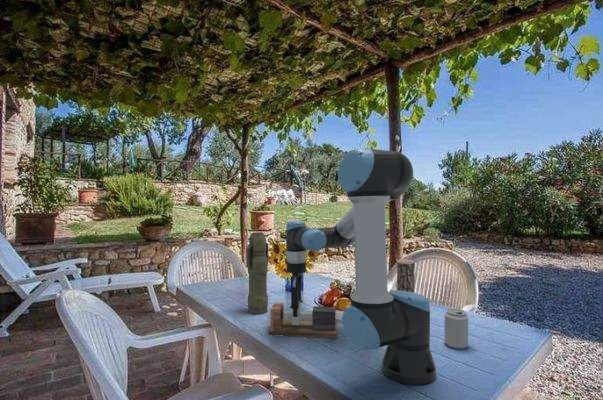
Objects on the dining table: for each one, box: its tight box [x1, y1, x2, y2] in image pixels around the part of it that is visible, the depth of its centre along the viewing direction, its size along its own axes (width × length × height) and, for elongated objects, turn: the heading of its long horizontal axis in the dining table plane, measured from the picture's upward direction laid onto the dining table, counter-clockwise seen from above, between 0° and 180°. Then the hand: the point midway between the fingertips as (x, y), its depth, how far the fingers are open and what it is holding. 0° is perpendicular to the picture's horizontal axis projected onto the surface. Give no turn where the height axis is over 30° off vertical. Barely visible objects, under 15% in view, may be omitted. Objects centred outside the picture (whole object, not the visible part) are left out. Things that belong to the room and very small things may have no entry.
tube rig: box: [268, 301, 338, 339], centre depth 134 cm, size 12×25×9 cm, turn 84°
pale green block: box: [283, 300, 313, 323], centre depth 134 cm, size 4×16×8 cm, turn 84°
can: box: [444, 308, 469, 350], centre depth 121 cm, size 8×8×12 cm
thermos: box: [245, 232, 270, 316], centre depth 156 cm, size 9×12×35 cm
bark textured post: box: [396, 258, 416, 293], centre depth 143 cm, size 7×7×25 cm
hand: (296, 322), depth 135 cm, fingers closed on pale green block, 4 cm apart
